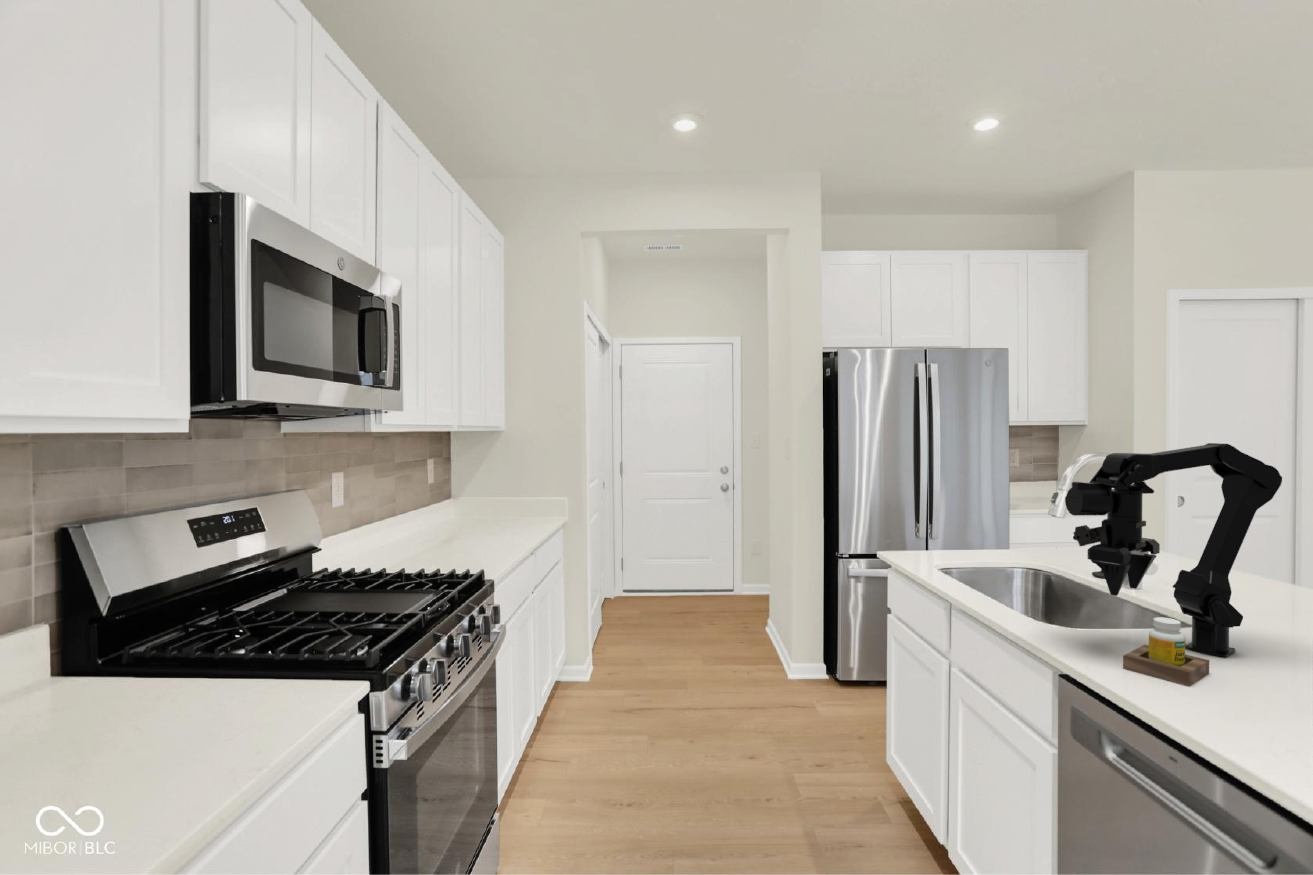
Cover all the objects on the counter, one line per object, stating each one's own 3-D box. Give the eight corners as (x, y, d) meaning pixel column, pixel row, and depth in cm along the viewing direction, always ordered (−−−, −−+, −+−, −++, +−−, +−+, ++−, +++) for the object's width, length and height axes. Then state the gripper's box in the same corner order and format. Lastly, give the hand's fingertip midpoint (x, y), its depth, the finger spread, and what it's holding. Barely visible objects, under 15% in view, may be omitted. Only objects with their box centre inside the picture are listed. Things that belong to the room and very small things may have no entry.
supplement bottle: (1155, 663, 123) (1155, 614, 123) (1189, 672, 118) (1190, 621, 118) (1143, 669, 120) (1144, 619, 120) (1178, 679, 116) (1179, 626, 115)
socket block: (1144, 657, 126) (1144, 644, 126) (1209, 673, 118) (1209, 659, 118) (1123, 668, 121) (1123, 655, 121) (1189, 686, 112) (1189, 672, 112)
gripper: (1099, 507, 141) (1099, 577, 142) (1059, 514, 131) (1058, 590, 131) (1161, 513, 132) (1160, 587, 132) (1122, 521, 122) (1121, 602, 122)
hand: (1123, 591), depth 130 cm, fingers open, 9 cm apart
